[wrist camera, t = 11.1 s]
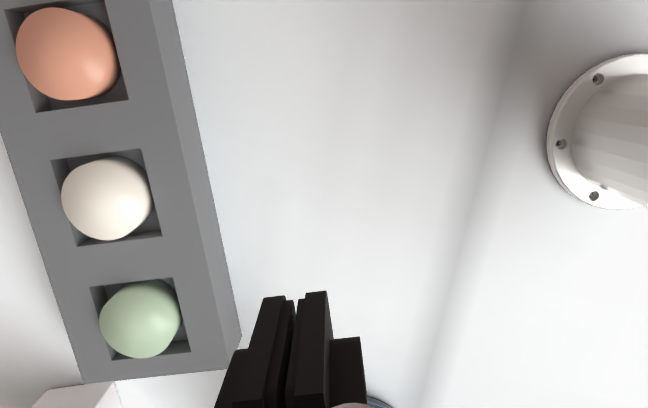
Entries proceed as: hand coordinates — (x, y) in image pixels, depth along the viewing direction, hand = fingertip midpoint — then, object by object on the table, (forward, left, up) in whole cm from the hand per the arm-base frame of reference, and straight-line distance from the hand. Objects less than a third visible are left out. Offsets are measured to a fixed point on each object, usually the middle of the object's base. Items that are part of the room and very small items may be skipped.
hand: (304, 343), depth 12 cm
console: (+16, 0, -27) cm, 32 cm away
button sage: (+17, +10, -24) cm, 31 cm away
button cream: (+16, 0, -24) cm, 29 cm away
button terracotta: (+17, -11, -24) cm, 31 cm away
